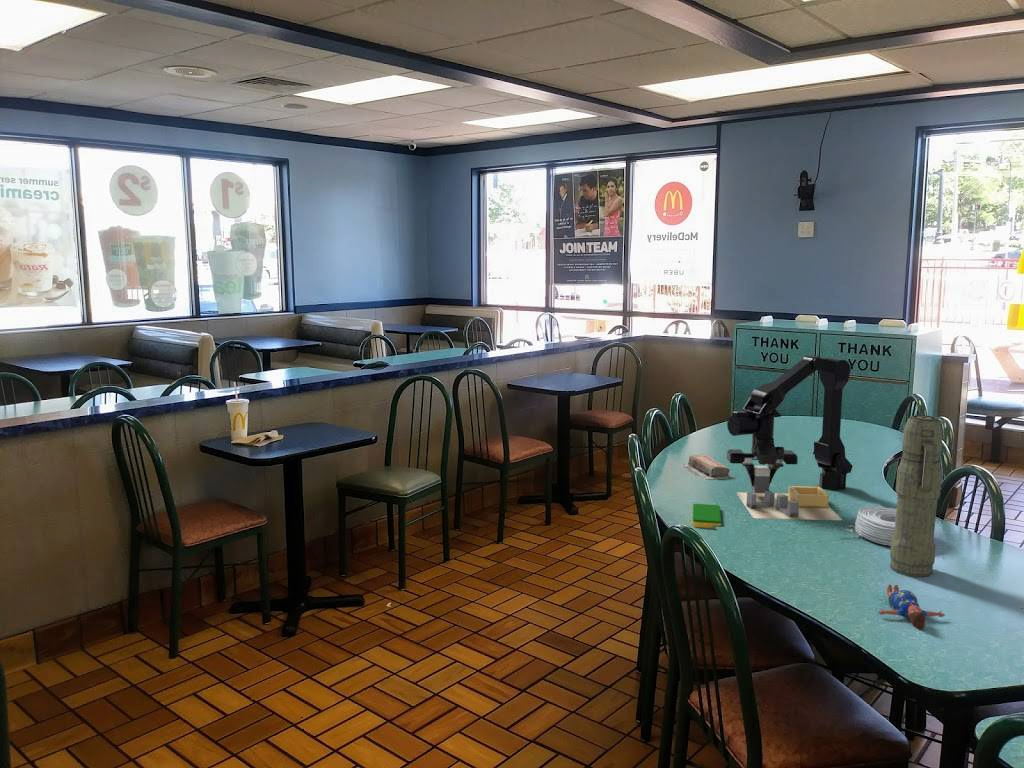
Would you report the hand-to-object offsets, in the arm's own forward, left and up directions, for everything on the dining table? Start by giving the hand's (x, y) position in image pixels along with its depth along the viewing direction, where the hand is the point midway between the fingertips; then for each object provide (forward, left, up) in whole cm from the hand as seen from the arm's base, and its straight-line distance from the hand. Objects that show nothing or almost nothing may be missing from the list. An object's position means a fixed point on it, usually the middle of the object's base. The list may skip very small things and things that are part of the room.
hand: (760, 485), depth 232 cm
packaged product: (+10, -27, -5) cm, 29 cm away
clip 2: (-4, +14, -3) cm, 15 cm away
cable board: (-6, +8, -4) cm, 10 cm away
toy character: (-12, +73, -5) cm, 74 cm away
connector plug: (0, 0, -2) cm, 2 cm away
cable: (-26, +29, -5) cm, 39 cm away
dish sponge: (+18, +18, -5) cm, 26 cm away
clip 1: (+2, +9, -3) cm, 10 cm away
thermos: (-22, +50, -4) cm, 55 cm away
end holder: (-12, +5, -3) cm, 14 cm away
